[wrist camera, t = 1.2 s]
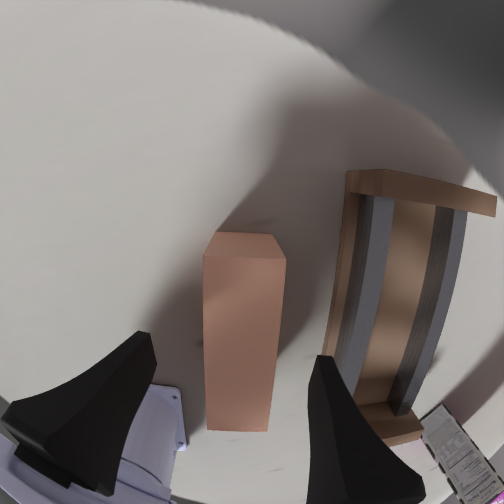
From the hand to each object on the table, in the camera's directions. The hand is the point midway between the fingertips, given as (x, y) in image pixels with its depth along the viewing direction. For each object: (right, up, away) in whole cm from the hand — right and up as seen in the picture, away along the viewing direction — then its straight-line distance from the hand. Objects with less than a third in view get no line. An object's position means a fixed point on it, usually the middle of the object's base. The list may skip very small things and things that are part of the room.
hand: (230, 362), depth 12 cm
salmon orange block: (0, 0, +10) cm, 10 cm away
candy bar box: (+26, -19, +16) cm, 36 cm away
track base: (+12, 0, +11) cm, 16 cm away
